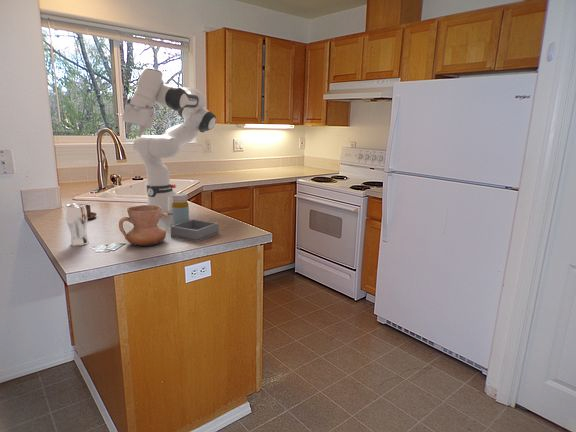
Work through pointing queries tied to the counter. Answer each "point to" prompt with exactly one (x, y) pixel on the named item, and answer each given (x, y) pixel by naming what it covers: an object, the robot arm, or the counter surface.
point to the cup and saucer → (89, 212)
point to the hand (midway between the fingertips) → (132, 135)
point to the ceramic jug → (144, 225)
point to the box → (194, 230)
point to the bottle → (180, 208)
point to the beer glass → (77, 223)
